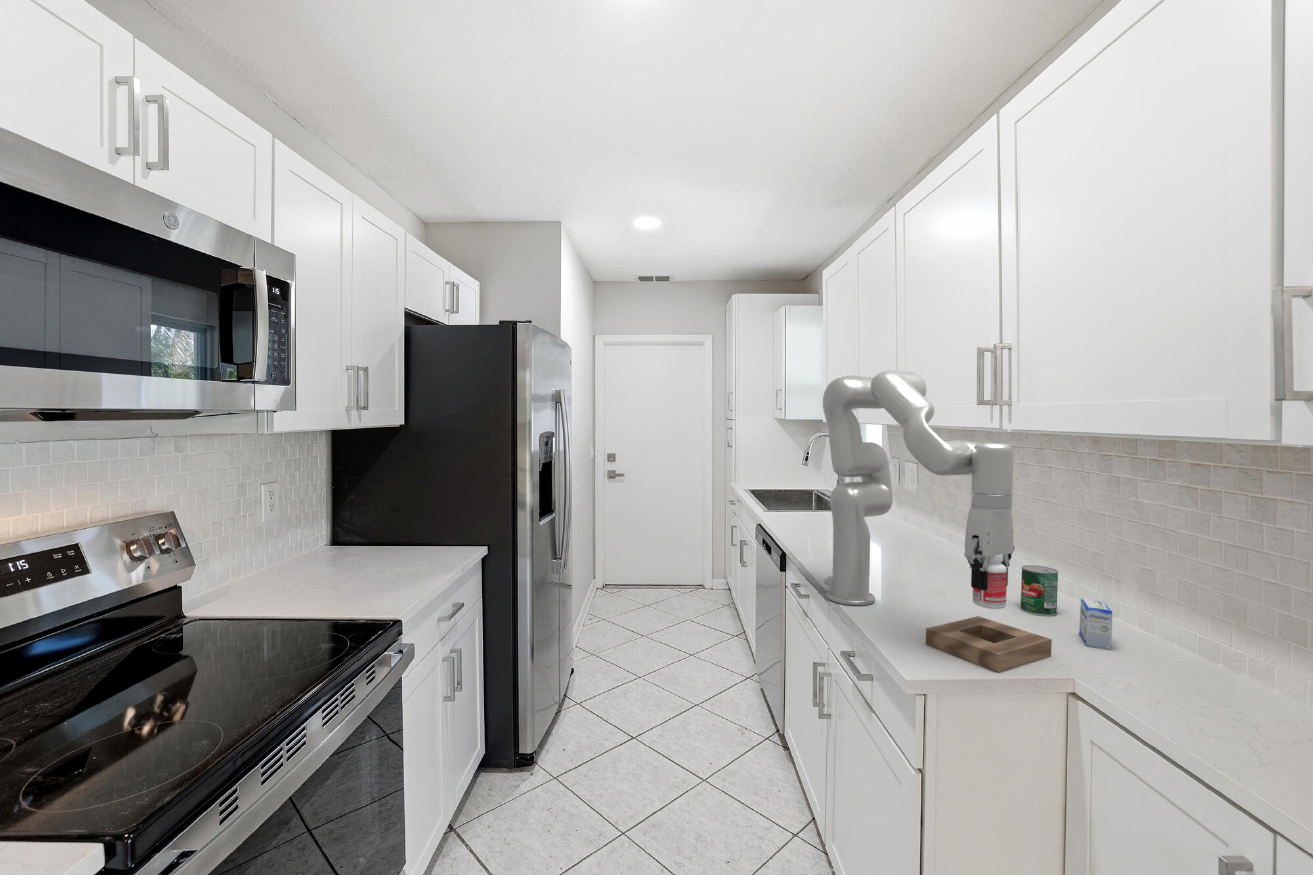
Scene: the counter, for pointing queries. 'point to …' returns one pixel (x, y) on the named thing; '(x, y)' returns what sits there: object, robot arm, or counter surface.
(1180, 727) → the counter surface
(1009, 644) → the walnut frame
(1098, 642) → the medicine box
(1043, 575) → the canned tomato
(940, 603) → the counter surface
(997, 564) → the pill bottle
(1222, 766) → the counter surface
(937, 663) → the counter surface
